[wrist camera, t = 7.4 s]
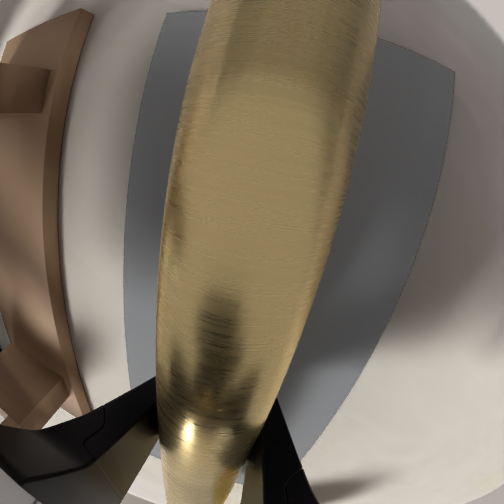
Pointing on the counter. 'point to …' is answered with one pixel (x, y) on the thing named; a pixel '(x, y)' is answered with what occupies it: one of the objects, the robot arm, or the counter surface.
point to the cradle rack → (36, 223)
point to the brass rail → (251, 220)
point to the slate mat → (347, 233)
